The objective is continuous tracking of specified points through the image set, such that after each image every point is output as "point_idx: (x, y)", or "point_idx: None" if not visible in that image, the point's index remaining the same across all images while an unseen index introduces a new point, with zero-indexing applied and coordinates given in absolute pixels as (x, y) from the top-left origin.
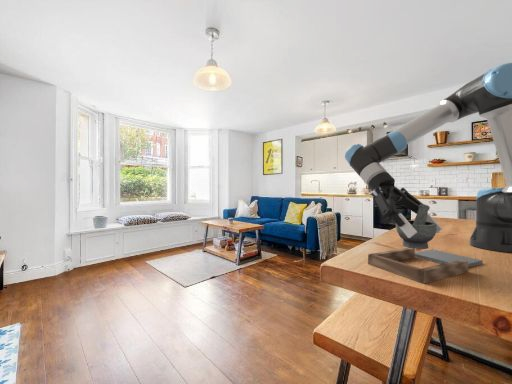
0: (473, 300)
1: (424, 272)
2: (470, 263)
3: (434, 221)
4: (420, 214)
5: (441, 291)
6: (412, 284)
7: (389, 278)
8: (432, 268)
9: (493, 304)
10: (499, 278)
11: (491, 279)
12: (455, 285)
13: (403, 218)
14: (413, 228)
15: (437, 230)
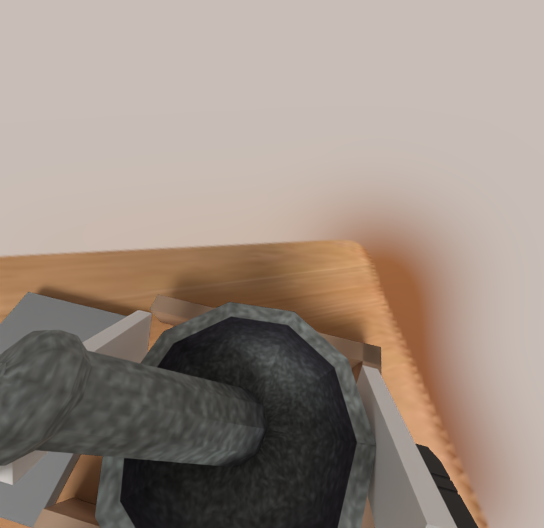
0: (364, 271)
1: (377, 347)
2: (95, 308)
3: (111, 336)
4: (160, 402)
5: (376, 316)
6: (399, 373)
7: (423, 440)
8: (331, 339)
9: (351, 251)
10: (176, 257)
11: (197, 266)
12: (310, 306)
13: (421, 462)
14: (377, 382)
15: (145, 335)
